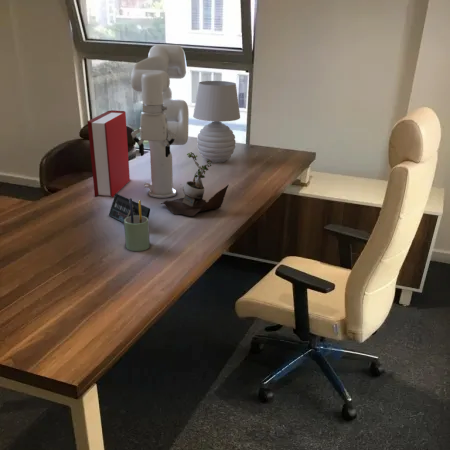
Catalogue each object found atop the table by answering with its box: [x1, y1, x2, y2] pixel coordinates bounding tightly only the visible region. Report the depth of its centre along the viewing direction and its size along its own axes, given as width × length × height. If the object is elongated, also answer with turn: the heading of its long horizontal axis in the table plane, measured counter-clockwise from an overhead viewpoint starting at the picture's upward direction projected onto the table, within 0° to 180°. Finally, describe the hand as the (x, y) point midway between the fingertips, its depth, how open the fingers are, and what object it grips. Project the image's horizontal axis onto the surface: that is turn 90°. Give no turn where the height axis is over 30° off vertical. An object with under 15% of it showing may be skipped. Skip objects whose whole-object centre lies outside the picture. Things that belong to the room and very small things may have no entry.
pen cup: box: [123, 197, 151, 252], centre depth 179 cm, size 8×8×18 cm
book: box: [87, 109, 131, 198], centre depth 233 cm, size 27×8×32 cm, turn 172°
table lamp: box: [192, 80, 241, 163], centre depth 279 cm, size 25×25×40 cm
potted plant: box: [160, 151, 230, 217], centre depth 214 cm, size 20×19×25 cm
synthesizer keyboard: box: [108, 193, 151, 224], centre depth 200 cm, size 22×10×10 cm
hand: (154, 155), depth 199 cm, fingers open, 9 cm apart
